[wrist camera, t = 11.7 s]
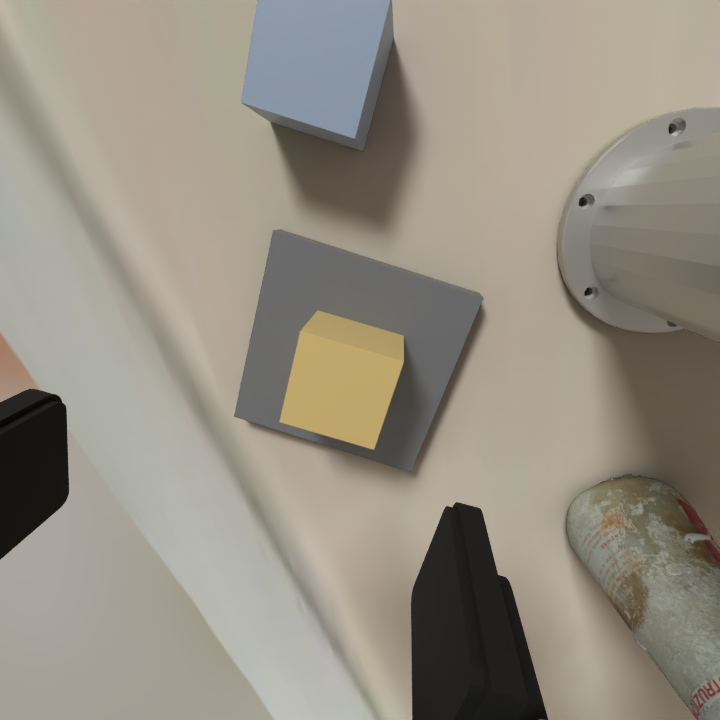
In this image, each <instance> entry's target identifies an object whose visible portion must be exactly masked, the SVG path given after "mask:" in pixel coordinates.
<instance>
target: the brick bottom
mask: <svg viewBox="0 0 720 720" xmlns="http://www.w3.org/2000/svg"><path fill="white" fill-rule="evenodd" d="M403 363H404V336H403V335H400V334H396V333H393V332H390V331H386V330H383V329H379V328H376V327H373V326H369V325H366V324H363V323H359V322H356V321H352V320H349V319H346V318H342V317H339V316H335V315H332V314H329V313H325V312H322V311H317V312H316V313H315V314H314V315H313V316H312V318H311V319H310V320H309V321H308V322H307V324H306V325H305V326H304V327H303V328H302V330H301V331H300V335H299V339H298V343H297V347H296V352H295V356H294V360H293V365H292V369H291V373H290V378H289V382H288V386H287V391H286V395H285V399H284V404H283V408H282V412H281V417H280V421H279V422H281V423H284V424H288V425H291V426H295V427H298V428H301V429H305V430H308V431H312V432H315V433H318V434H322V435H325V436H329V437H332V438H335V439H339V440H342V441H346V442H349V443H353V444H356V445H359V446H363V447H366V448H370V449H373V450H374V448H375V446H376V443H377V440H378V437H379V434H380V431H381V428H382V425H383V422H384V419H385V416H386V413H387V410H388V407H389V404H390V401H391V398H392V395H393V392H394V390H395V387H396V384H397V381H398V378H399V375H400V372H401V369H402V366H403Z"/></svg>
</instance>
